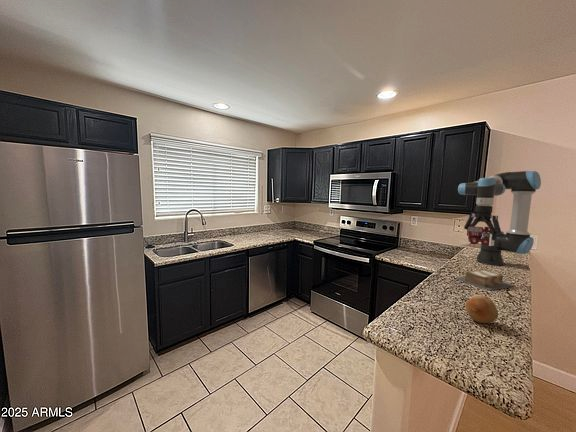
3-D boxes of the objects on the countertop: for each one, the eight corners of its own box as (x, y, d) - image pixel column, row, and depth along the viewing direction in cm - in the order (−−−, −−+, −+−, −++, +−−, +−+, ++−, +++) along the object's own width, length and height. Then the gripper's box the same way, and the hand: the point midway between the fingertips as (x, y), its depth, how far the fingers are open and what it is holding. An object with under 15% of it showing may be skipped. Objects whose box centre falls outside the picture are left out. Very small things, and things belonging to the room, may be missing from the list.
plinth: (482, 278, 141) (482, 269, 140) (501, 284, 132) (502, 275, 131) (465, 280, 136) (466, 271, 136) (484, 287, 127) (485, 277, 126)
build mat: (478, 275, 147) (478, 274, 147) (514, 286, 130) (514, 285, 130) (455, 278, 141) (455, 277, 141) (489, 290, 124) (489, 289, 124)
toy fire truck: (494, 246, 132) (495, 227, 132) (466, 244, 140) (466, 226, 140) (494, 245, 137) (495, 226, 137) (467, 242, 145) (468, 225, 145)
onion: (464, 312, 101) (467, 289, 100) (496, 320, 95) (498, 296, 94) (463, 321, 93) (465, 297, 92) (497, 331, 87) (500, 305, 86)
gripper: (459, 204, 147) (455, 239, 149) (503, 206, 124) (498, 248, 126) (468, 204, 149) (464, 239, 151) (513, 206, 127) (508, 247, 129)
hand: (480, 243), depth 139 cm, fingers closed on toy fire truck, 11 cm apart
